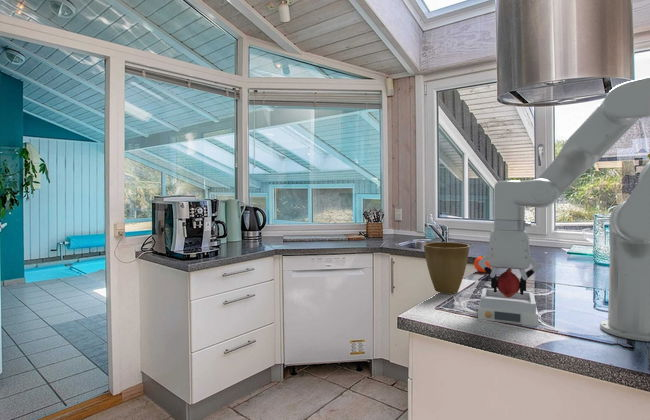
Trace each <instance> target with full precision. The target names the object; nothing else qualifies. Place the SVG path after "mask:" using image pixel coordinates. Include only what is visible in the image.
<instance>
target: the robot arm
mask: <svg viewBox="0 0 650 420" xmlns="http://www.w3.org/2000/svg"><path fill="white" fill-rule="evenodd" d="M647 117H648V118H649V117H650V76H646V77H644V78H639V79H634V80H630V81H626V82H623V83H621V84H618V85H616V86H614V87H613V88H612V89H611V90H609V91H608V92H607V94H606V96H605V97H604V99H603V101H601V103H600V104H599V105H598V106H597V107H596V109H594V111H592V113H591V114H590V115H589V116H588V118H586V119H585V121H584V122H583V123H582V124H581V125H580V126H579V127H578V128H577V129H576V130H575V131H574V132H573V133H572V134H571V135H570V136H569V138H568V139H566V142H565V143H564V144H563V146H562V147H561V149H560V151H559V153H558V155H556V156H555V158H554V160H553V161H551V163H550V164H549V165H548V167H546V168H545V170H544V171H543V172H542V173H541V174H540V175H539V176H538V177H537V178H536V179H530V180H498V181H496V182H495V184H494V186H493V187H494V189H493V230H491V231H490V234H489V241H488V243H489V244H488V252H487V254H485V255H484V256H485V257H484V258H482V259H481V260H480V261H479V263H478V264H479V265H480V266H481V267H482V268H483V269H484V270H485V271H486V272H485V273H486V274H488V276H489V277H490V279H491V280H490V289H494V292H497V289H498V288H497V279H498V276H497V272H498V270H499V269H511V270H513V269H514V270H519V272H520V275H521V276H520V278H519V281H520V289H519V291H520V294H521V295H523V292H527V280H528V279H529V278H530V277H531V276H533V275H534V274H535V273H537V272H538V271H539V270H540V269H541V268H542V267H541V265H540V264H539V263H538V262H537V261H536V260H535V258H533V257H532V256H531V255H530V254H531V253H530V251H531V250H530V241H529V240H530V238H529V233H528V231H526V229H527V228H531V225H532V224H531V222H529V221H526V220H525V217H526V213H525V212H526V211H525V209H526V207H529V208H533V209H534V208H536V209H545V208H549V207H550V206H552V205H554V204H555V203H556V202H557V201H558V199H559V198H560V197H562V195H563V194H564V193H565V192H566V191H568V189H569V188H570V187H571V186H572V185H573V184H574V183H575V182H576V181H577V180H578V179H579V178H580V177H581V176H582V175H583V174H584V173H585V172H586V171H588V170H589V169H591V168H592V167H593V166H595V164H596V163H597V162H599V160H601V158H602V157H604V155H605V154H606V153H607V152H608V151H609V150H610V149H611V148H612V147H614V145H615V144H616V143H617V142H619V140H620V139H621V138H622V137H623V136H624V135H625V134H626V133H627V131H629V130H630V129H631V128H632V127H633V126H634V125H635V123H637V121H639V119H642V118H647ZM608 225H609V230H608V231H609V267H608V268H609V270H608V271H609V276H608V277H609V278H608V305H607V306H608V308H607V309H608V313H607V314H608V316H607V319H605V320H602V321H601V322H600V323H599V327H600V329H601V330H602V331H604V332H605V333H608V334H610V335H613V336H616V337H620V338H623V339H628V340H633V341H638V342H639V341H640V342H648V343H649V342H650V159H649V160H648V162H647V163H646V164H645V165H644V166H643V168H642V169H641V170H640V173H639V176H638V183H637V184H636V185H635V186H634V188H633V189H632V191H631V193H630V194H629V196H628V197H627V199H626V200H625V201H622V202H620V203H619V204H617V205H616V206H615V207H614V208H613V210H612V211H611V213H610V216H609V224H608ZM486 261H489V265H490V266H491V269H490V268H489V267H488V266H487V265H486V264H485V262H486ZM530 264H531V265H532V267H531V268H529V267H530ZM527 269H528V270H527ZM526 270H527V271H526Z"/></svg>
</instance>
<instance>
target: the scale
mask: <svg viewBox="0 0 650 420" xmlns="http://www.w3.org/2000/svg"><path fill="white" fill-rule="evenodd" d="M481 290H482V291H481V295H480V300H479V303H478V307H477V320H483V321H491V322H499V323H508V324H516V325H524V326H533V327H538V326H539V312H538V309H537V302H536V298H535V295H534V292H530V291H523V295H521V294H520V290H519V291H518V292H517V293H516V294H514V295H513V296H512V297H510V298H507V297H506V296H504V295H503V294H502V293H501V292H500V291H499V290H498V288H497V292H494V289H493V288H486V287H482V289H481Z"/></svg>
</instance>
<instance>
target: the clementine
mask: <svg viewBox="0 0 650 420" xmlns="http://www.w3.org/2000/svg"><path fill="white" fill-rule="evenodd" d="M485 256H486V255H480V256H478V257H476V258H475V260H474V262H473V264H474V265H473V266H474V268H475V270H476V271H477V272H479V273H482V274H483V273H487V272H486V271H485V270H484V269H483V268H482V267H481V266H480V265H479V264H478V263H479V261H480V260H481V259H482V258H484V257H485ZM485 264H486V265H487V266H488V267H489V268H490V269H491V270H492V266H490V265H489V261H486V262H485Z"/></svg>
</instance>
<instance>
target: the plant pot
mask: <svg viewBox="0 0 650 420" xmlns="http://www.w3.org/2000/svg"><path fill="white" fill-rule="evenodd" d="M423 249H424V256H425V257H424V258H425V261H426V266H427V269H428V273H429V276H430V280H431V282H432V285H433V288H434V291H435V292H437V293H441V294H449V295H450V294H457V293H458V292H459V289H460V287H461V284H462V282H463V279H464V276H465V273H466V268H467V263H468V258H469V253H470V244H467V243H462V242H454V241H453V242H450V241H448V242H445V241H444V242H443V241H441V242H440V241H439V242H426V243H424V244H423Z"/></svg>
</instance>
